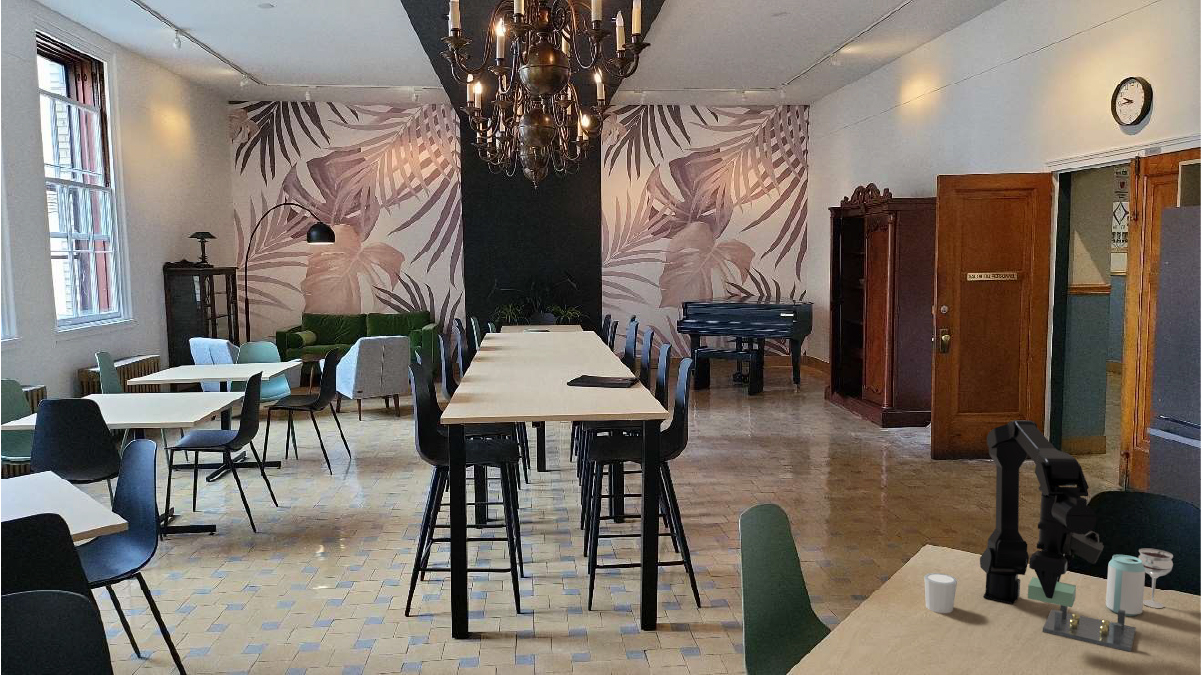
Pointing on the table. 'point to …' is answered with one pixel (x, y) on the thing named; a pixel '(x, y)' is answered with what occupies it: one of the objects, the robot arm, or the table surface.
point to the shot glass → (940, 592)
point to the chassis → (1091, 629)
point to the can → (1125, 585)
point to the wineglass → (1155, 568)
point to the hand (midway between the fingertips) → (1051, 593)
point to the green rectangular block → (1061, 596)
